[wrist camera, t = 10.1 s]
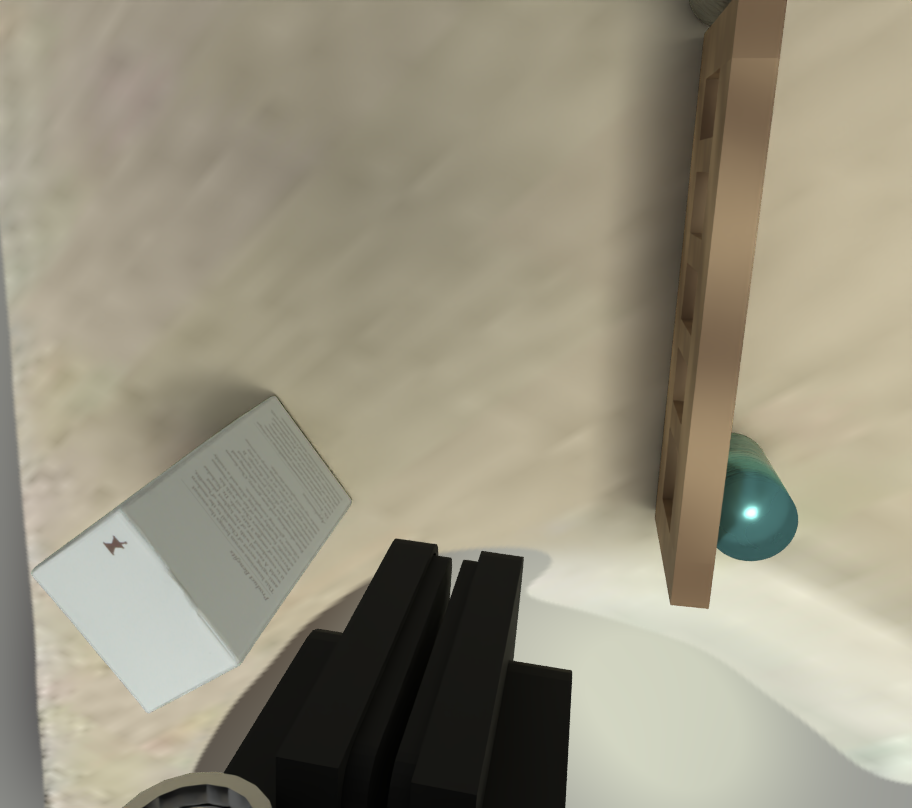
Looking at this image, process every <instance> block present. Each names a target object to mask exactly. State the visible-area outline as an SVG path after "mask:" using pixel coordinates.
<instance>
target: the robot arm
mask: <svg viewBox="0 0 912 808" xmlns="http://www.w3.org/2000/svg"><path fill="white" fill-rule="evenodd" d="M523 558H524V557H520V556H513V555H506V554H499V553H492V552H486V551H481V554H480V557H479V560H478V562H476V561H470V560H463V562H462V565H461V568H460V572H459V574H458V577H457V580H456V583H455V586H454V589H453V592H452V595H451V597H450V587H451V573H452V559H451V558H449V557H442V556H438V546H437V544H430V543H423V542H416V541H410V540H403V539H394V541H393V542H392V544H391V546H390V548H389V549H388V551H387V553H386V555H385V557H384V559H383V560H382V562H381V564H380V566H379V568H378V570H377V572H376V573H375V575H374V577H373V579H372V581H371V583H370V584H369V586H368V588H367V590H366V592H365V594H364V595H363V597H362V599H361V601H360V603H359V605H358V606H357V608H356V610H355V612H354V614H353V616H352V617H351V619H350V621H349V623H348V625H347V627H346V628H345V630H344V632H343V633H341V632H335V631H329V630H322V629H315V630H313V631H312V632H311V633H310V635H309V636H308V637H307V638H306V640H305V642H304V643H303V645H302V646H301V648H300V650H299V651H298V653H297V655H296V656H295V658H294V660H293V661H292V663H291V664H290V666H289V668H288V670H287V671H286V673H285V674H284V676H283V677H282V679H281V681H280V682H279V684H278V685H277V687H276V689H275V690H274V692H273V694H272V695H271V697H270V698H269V700H268V702H267V704H266V705H265V707H264V708H263V710H262V712H261V713H260V715H259V716H258V718H257V720H256V721H255V723H254V724H253V726H252V728H251V729H250V731H249V733H248V734H247V736H246V738H245V739H244V741H243V742H242V744H241V746H240V747H239V749H238V751H237V752H236V754H235V756H234V757H233V759H232V760H231V762H230V763H229V765H228V767H227V768H226V770H225V772H224V773H219V772H204V773H203V772H202V773H189V774H185V775H181V776H178V777H174V778H171V779H167V780H164V781H162V782H160V783H158V784H156V785H154V786H152V787H150V788H148V789H146V790H145V791H143V792H141V793H139V794H138V795H137V796H136V797H135V798H133V799H132V800H131V801H130V802H128V803H127V804H126V805H125V806H124V807H122V808H565V802H566V782H567V764H568V746H569V727H570V726H569V725H570V708H571V689H572V671H571V670H566V669H559V668H553V667H548V666H541V665H535V664H529V663H523V662H517V661H513V658H514V648H515V639H516V630H517V620H518V611H519V601H520V592H521V582H522V572H523V561H524V559H523Z"/></svg>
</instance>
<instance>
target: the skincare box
mask: <svg viewBox="0 0 912 808" xmlns="http://www.w3.org/2000/svg"><path fill="white" fill-rule="evenodd" d="M351 503H352V500H351V498H350V497H349V496H348V494H347V493H346V492H345V490H344V489H343V488H342V486H341V485H340V484H339V482H338V481H337V479H336V478H335V477H334V475H333V474H332V473H331V471H330V470H329V469H328V467H327V466H326V465H325V463H324V462H323V460H322V459H321V458H320V456H319V455H318V454H317V452H316V451H315V450H314V448H313V447H312V445H311V444H310V443H309V441H308V440H307V439H306V437H305V436H304V435H303V433H302V432H301V430H300V429H299V428H298V426H297V425H296V424H295V422H294V421H293V419H292V418H291V417H290V415H289V414H288V413H287V411H286V410H285V409H284V407H283V406H282V404H281V403H280V401H279V400H278V399H277V397H275V396H271V397H270V398H268V399H267V400H265V401H264V402H262V403H261V404H259V405H257V406H256V407H254V408H253V409H251V410H250V411H248V412H247V413H245V414H244V415H242V416H241V417H239V418H238V419H236V420H235V421H234V422H232V423H231V424H229V425H228V426H226V427H225V428H224V429H222V430H221V431H219V432H218V433H216V434H215V435H214V436H212V437H211V438H209V439H208V440H207V441H205V442H204V443H203V444H201V445H200V446H198V447H197V448H196V449H194V450H193V451H192V452H190V453H189V454H187V455H186V456H185V457H183V458H182V459H181V460H179V461H178V462H177V463H175V464H174V465H173V466H171V467H170V468H169V469H167V470H166V471H164V472H163V473H162V474H160V475H159V476H158V477H156V478H155V479H154V480H152V481H151V482H150V483H148V484H147V485H146V486H144V487H143V488H141V489H140V490H139V491H137V492H136V493H135V494H133V495H132V496H131V497H129V498H128V499H127V500H125V501H124V502H122V503H121V504H120V505H118V506H117V507H116V508H114V509H113V510H112V511H110V512H109V513H108V514H106V515H105V516H103V517H102V518H101V519H99V520H98V521H97V522H95V523H94V524H93V525H91V526H90V527H89V528H87V529H86V530H85V531H83V532H82V533H81V534H79V535H78V536H76V537H75V538H74V539H72V540H71V541H70V542H68V543H67V544H65V545H64V546H63V547H61V548H60V549H59V550H57V551H56V552H54V553H53V554H52V555H50V556H49V557H48V558H46V559H45V560H44V561H42V562H41V563H40V564H38V565H37V566H36V567H35V568H34V569H33V570H32V572H31V574H32V576H33V577H34V579H35V580H36V581H37V582H38V583H39V585H40V586H41V587H42V588H43V589H44V590H45V591H46V593H47V594H48V595H49V596H50V597H51V598H52V600H53V601H54V602H55V603H56V604H57V605H58V607H59V608H60V609H61V610H62V611H63V612H64V614H65V615H66V616H67V617H68V618H69V619H70V621H71V622H72V623H73V624H74V626H75V627H76V628H77V629H78V630H79V632H80V633H81V634H82V635H83V636H84V638H85V639H86V640H87V641H88V642H89V644H90V645H91V646H92V647H93V649H94V650H95V651H96V652H97V653H98V655H99V656H100V657H101V658H102V659H103V660H104V662H105V663H106V664H107V665H108V666H109V668H110V669H111V670H112V671H113V672H114V673H115V675H116V676H117V677H118V678H119V679H120V681H121V682H122V683H123V684H124V686H125V687H126V688H127V689H128V690H129V692H130V693H131V694H132V695H133V696H134V698H135V699H136V700H137V701H138V702H139V703H140V705H141V706H142V707H143V709H144V710H145V711H146V712H147V713H151V712H153V711H155V710H156V709H158V708H160V707H162V706H164V705H166V704H168V703H170V702H172V701H174V700H175V699H177V698H179V697H181V696H183V695H185V694H187V693H189V692H191V691H193V690H194V689H196V688H198V687H200V686H202V685H204V684H206V683H208V682H210V681H212V680H213V679H215V678H217V677H219V676H221V675H223V674H225V673H226V672H228V671H230V670H232V669H234V668H236V667H238V666H239V665H241V663H242V662H243V660H244V659H245V657H246V656H247V654H248V653H249V651H250V650H251V648H252V647H253V645H254V644H255V642H256V641H257V639H258V638H259V636H260V635H261V633H262V632H263V630H264V629H265V627H266V626H267V625H268V623H269V622H270V620H271V619H272V617H273V616H274V615H275V613H276V612H277V610H278V609H279V607H280V606H281V604H282V603H283V601H284V600H285V599H286V597H287V596H288V594H289V593H290V591H291V590H292V589H293V587H294V586H295V584H296V583H297V582H298V580H299V579H300V577H301V576H302V574H303V573H304V571H305V570H306V568H307V567H308V566H309V564H310V563H311V561H312V560H313V559H314V557H315V556H316V554H317V553H318V552H319V550H320V549H321V547H322V546H323V544H324V543H325V542H326V540H327V539H328V537H329V536H330V534H331V533H332V532H333V530H334V529H335V527H336V526H337V524H338V523H339V521H340V520H341V519H342V517H343V516H344V514H345V513H346V512H347V510H348V509H349V507H350V505H351Z"/></svg>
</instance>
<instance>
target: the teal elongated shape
mask: <svg viewBox="0 0 912 808" xmlns="http://www.w3.org/2000/svg"><path fill="white" fill-rule="evenodd" d="M731 1H732V0H689V2H690V5H691V8H692V10H693V12H694V14H695V15H696V16H697V17H698V18H699V19H700V20H701V21H702V22H704V23H705V24H707V25H710V26H711V25H712V24H713V23H714V22H715V20H716V19H717V18H718V17H719V15H720V14H721V13H722V12H723V11H724V9H725V8H726V7H727V6H728V4H729V3H730V2H731ZM797 526H798V514H797V509H796V507H795V504H794V502H793V501H792V499H791V497H790V496H789V494H788V492H787V491H786V489H785V487H784V486H783V484H782V482H781V481H780V479H779V477H778V476H777V474H776V472H775V471H774V469H773V467H772V466H771V464H770V462H769V461H768V459H767V457H766V456H765V454H764V453H763V451H762V449H761V448H760V447H759V445H758V444H757V443H756V442H754V441H753V440H752V439H750V438H748V437H746V436H743V435H740V434H735V433H731V439H730V447H729V455H728V462H727V470H726V478H725V486H724V493H723V501H722V509H721V517H720V525H719V532H718V540H717V548H718V549H719V550H720V551H721V552H723V553H724V554H726V555H728V556H730V557H732V558H735V559H738V560H744V561H758V560H763V559H766V558H769V557H772V556H774V555H776V554H778V553H779V552H781V551H782V550H783V549H784V548H785V547H786V546H787V545H788V544H789V543H790V542H791V540H792V539H793V537H794V535H795V533H796V530H797Z"/></svg>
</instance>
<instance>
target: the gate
mask: <svg viewBox="0 0 912 808" xmlns="http://www.w3.org/2000/svg"><path fill="white" fill-rule="evenodd" d="M786 5H787V0H732V1H731V2H730V3H729V4H728V6H727V7H726V8H725V9H724V11H723V12H722V13H721V14H720V15H719V17H718V18H717V19H716V20H715V22H714V23H713V24H712V25H711V26H710V28H709V29H708V30H707V31H706V33H705V34H704V41H703V51H702V61H701V70H700V80H699V90H698V100H697V110H696V119H695V129H694V139H693V149H692V158H691V168H690V178H689V188H688V198H687V207H686V217H685V227H684V237H683V246H682V256H681V266H680V276H679V286H678V295H677V305H676V315H675V325H674V334H673V344H672V354H671V364H670V374H669V383H668V393H667V403H666V413H665V423H664V432H663V442H662V452H661V462H660V471H659V481H658V491H657V501H656V511H655V521H656V526H657V532H658V538H659V543H660V549H661V555H662V560H663V566H664V571H665V577H666V583H667V588H668V594H669V599H670V605H677V606H686V607H696V608H706V609H709V602H710V594H711V587H712V579H713V571H714V563H715V556H716V548H717V540H718V532H719V525H720V517H721V509H722V501H723V493H724V486H725V478H726V470H727V462H728V455H729V447H730V439H731V431H732V424H733V416H734V408H735V400H736V393H737V385H738V377H739V369H740V362H741V354H742V346H743V338H744V331H745V323H746V315H747V307H748V300H749V292H750V284H751V276H752V268H753V261H754V253H755V245H756V237H757V230H758V222H759V214H760V206H761V199H762V191H763V183H764V175H765V168H766V160H767V152H768V144H769V137H770V129H771V121H772V113H773V106H774V98H775V90H776V82H777V75H778V67H779V59H780V51H781V43H782V36H783V28H784V20H785V12H786Z"/></svg>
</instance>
